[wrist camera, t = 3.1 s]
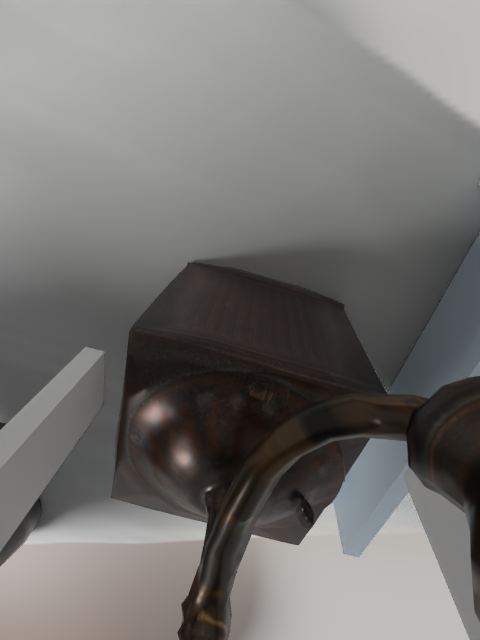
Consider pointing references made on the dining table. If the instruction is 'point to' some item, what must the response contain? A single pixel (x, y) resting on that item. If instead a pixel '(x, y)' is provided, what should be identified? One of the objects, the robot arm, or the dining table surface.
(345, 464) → the coffee grinder
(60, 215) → the dining table surface
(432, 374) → the low wall
